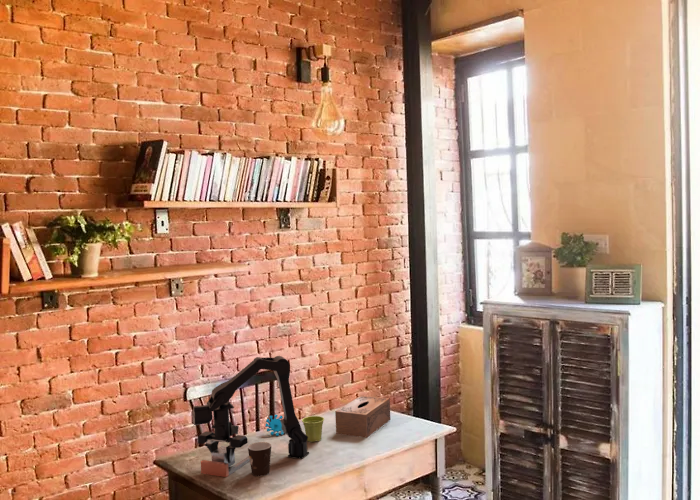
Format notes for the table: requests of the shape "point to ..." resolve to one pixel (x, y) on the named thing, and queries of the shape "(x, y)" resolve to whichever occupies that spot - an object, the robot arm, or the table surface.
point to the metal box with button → (222, 456)
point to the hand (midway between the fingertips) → (223, 461)
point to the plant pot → (313, 427)
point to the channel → (220, 467)
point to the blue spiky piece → (274, 425)
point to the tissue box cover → (362, 416)
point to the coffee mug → (260, 458)
